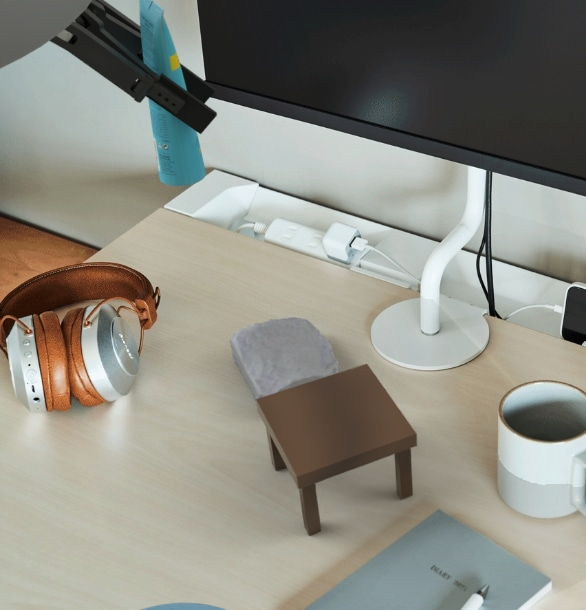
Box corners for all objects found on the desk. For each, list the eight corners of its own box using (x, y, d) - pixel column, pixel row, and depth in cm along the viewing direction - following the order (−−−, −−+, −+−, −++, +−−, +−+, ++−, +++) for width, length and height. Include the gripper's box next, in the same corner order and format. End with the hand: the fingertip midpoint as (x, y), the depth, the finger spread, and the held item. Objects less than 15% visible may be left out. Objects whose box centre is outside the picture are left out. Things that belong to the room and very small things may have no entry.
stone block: (308, 344, 106) (222, 356, 101) (313, 309, 104) (225, 320, 99) (349, 407, 98) (259, 424, 93) (356, 371, 96) (263, 387, 91)
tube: (218, 183, 100) (188, 4, 89) (176, 196, 97) (140, 14, 86) (188, 159, 104) (156, -14, 93) (147, 171, 102) (109, -5, 91)
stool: (306, 541, 81) (296, 476, 76) (266, 461, 89) (255, 399, 84) (419, 496, 85) (416, 433, 81) (371, 424, 93) (367, 363, 88)
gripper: (-10, -37, 93) (186, 102, 106) (-47, 23, 78) (186, 176, 91) (32, -95, 91) (226, 53, 104) (3, -46, 76) (234, 120, 89)
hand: (207, 110), depth 97 cm, fingers closed on tube, 6 cm apart
